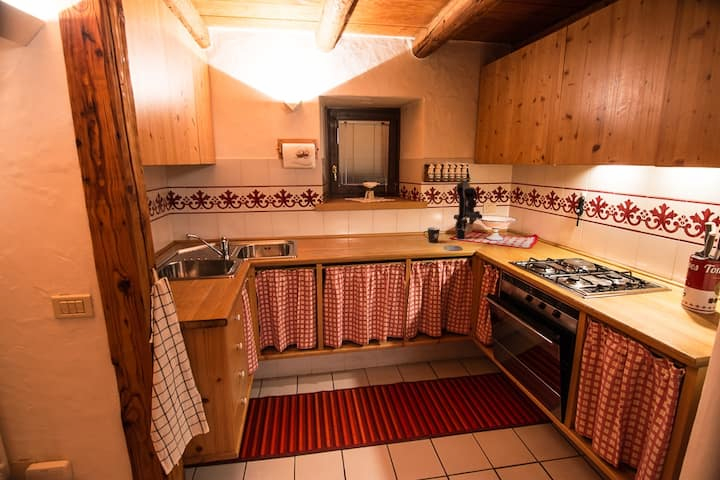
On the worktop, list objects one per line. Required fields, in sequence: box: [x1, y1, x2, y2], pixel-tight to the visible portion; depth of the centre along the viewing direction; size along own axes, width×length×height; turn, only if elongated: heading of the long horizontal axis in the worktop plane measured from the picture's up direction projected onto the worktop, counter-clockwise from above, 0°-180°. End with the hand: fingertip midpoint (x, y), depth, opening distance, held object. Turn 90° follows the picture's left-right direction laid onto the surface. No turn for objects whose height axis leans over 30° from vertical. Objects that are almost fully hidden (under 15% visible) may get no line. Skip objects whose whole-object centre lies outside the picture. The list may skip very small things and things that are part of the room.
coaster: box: [443, 244, 463, 252], centre depth 238 cm, size 12×12×1 cm
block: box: [462, 222, 474, 233], centre depth 243 cm, size 6×4×5 cm, turn 13°
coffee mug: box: [423, 226, 441, 244], centre depth 255 cm, size 12×9×10 cm
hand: (467, 229), depth 243 cm, fingers closed on block, 4 cm apart
